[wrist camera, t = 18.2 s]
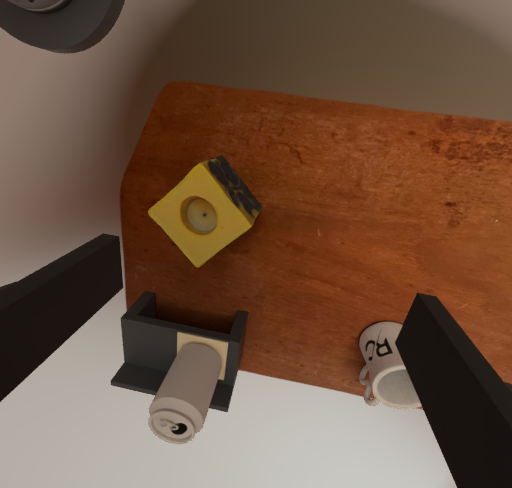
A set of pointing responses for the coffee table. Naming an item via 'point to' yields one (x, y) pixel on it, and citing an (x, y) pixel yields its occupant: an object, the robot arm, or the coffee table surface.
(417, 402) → the mug
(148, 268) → the coffee table surface
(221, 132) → the coffee table surface
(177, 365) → the can
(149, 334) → the shelf
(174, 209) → the candle
